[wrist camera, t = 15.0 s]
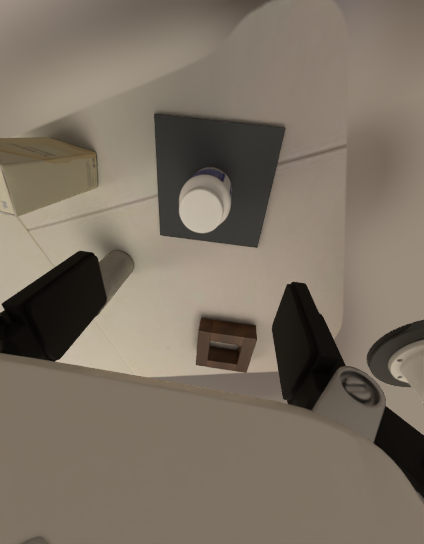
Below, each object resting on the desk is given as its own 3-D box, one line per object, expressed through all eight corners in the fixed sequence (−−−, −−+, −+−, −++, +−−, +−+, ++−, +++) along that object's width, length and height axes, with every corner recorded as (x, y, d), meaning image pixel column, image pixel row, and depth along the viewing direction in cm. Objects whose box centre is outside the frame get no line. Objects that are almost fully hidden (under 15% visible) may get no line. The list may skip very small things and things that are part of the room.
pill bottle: (181, 185, 26) (158, 205, 19) (214, 156, 24) (204, 165, 16) (207, 219, 28) (196, 249, 21) (240, 195, 26) (241, 219, 18)
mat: (284, 128, 22) (285, 128, 22) (257, 246, 30) (257, 247, 29) (155, 114, 23) (154, 113, 22) (161, 233, 30) (160, 235, 30)
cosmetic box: (97, 152, 25) (3, 162, 15) (98, 189, 28) (19, 219, 18) (45, 136, 25) (-86, 136, 15) (51, 175, 27) (-58, 197, 17)
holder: (255, 325, 39) (257, 339, 36) (245, 358, 44) (246, 372, 42) (201, 317, 39) (198, 331, 36) (198, 351, 45) (195, 365, 42)
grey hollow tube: (113, 244, 32) (68, 283, 24) (139, 261, 34) (105, 304, 25) (102, 263, 34) (58, 305, 26) (127, 278, 36) (92, 323, 27)
